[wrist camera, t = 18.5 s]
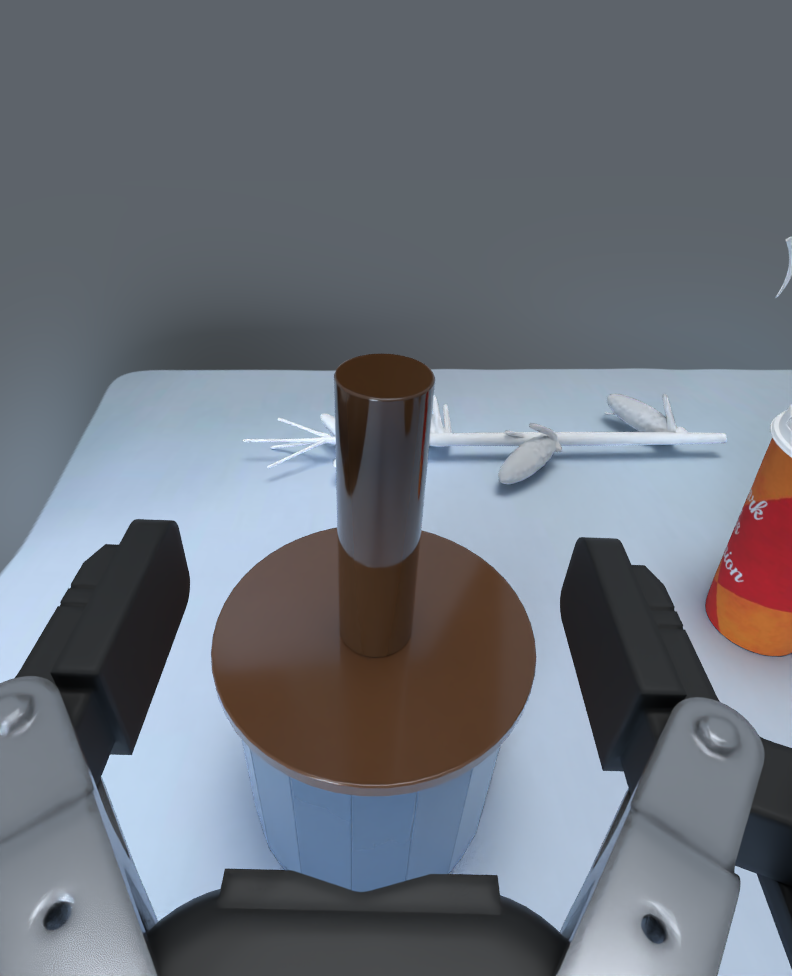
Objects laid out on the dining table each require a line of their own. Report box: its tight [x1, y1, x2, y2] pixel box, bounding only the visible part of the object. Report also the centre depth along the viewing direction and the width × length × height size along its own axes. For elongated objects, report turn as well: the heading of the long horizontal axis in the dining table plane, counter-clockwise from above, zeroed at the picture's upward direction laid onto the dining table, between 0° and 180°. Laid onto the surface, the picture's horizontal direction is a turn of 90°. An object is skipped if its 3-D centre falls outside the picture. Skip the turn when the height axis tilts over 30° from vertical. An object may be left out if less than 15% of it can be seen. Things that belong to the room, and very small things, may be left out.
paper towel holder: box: [211, 354, 536, 796], centre depth 19 cm, size 11×11×11 cm
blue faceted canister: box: [242, 740, 501, 892], centre depth 25 cm, size 10×10×10 cm
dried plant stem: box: [243, 236, 792, 484], centre depth 45 cm, size 12×19×40 cm
